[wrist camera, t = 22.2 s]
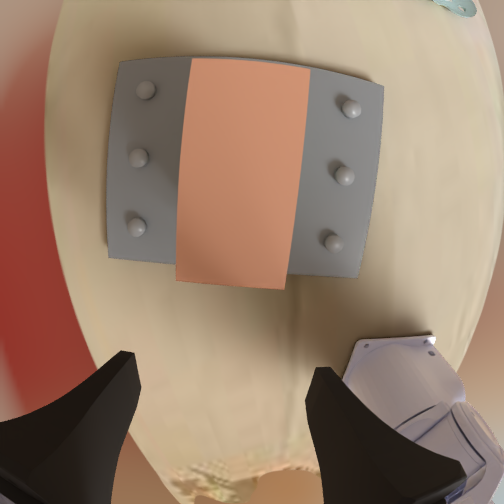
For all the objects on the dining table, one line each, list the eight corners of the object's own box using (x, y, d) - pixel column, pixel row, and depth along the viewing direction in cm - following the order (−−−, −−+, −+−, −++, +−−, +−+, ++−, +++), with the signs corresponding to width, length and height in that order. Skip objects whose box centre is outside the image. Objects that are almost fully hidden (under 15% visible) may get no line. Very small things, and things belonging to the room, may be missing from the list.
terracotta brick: (291, 94, 12) (310, 69, 8) (273, 254, 14) (284, 289, 10) (206, 86, 11) (192, 58, 7) (193, 247, 14) (175, 280, 10)
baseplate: (377, 88, 16) (388, 84, 14) (352, 273, 20) (360, 281, 19) (125, 65, 15) (116, 59, 13) (114, 253, 19) (105, 260, 18)
